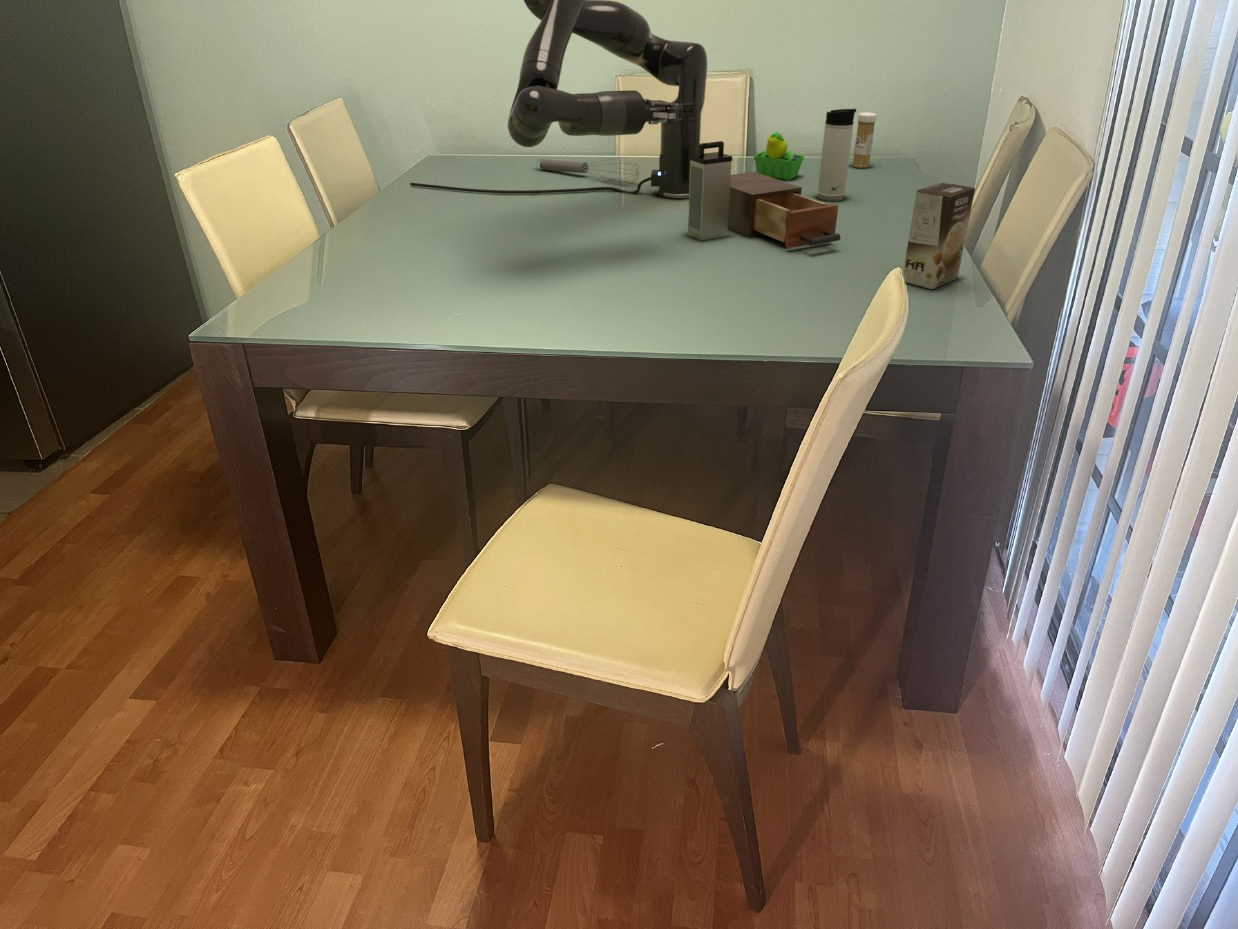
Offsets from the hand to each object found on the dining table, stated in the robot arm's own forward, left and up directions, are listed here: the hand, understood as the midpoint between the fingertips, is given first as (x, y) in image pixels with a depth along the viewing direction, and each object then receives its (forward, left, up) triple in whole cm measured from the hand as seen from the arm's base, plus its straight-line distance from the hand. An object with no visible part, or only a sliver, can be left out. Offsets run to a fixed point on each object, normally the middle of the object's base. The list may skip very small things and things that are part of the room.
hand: (693, 109), depth 170 cm
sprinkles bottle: (+43, +72, -25) cm, 88 cm away
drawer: (+21, +1, -24) cm, 32 cm away
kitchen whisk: (-29, +53, -25) cm, 65 cm away
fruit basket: (+20, +58, -25) cm, 66 cm away
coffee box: (+44, -21, -25) cm, 55 cm away
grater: (+4, +3, -25) cm, 25 cm away
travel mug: (+32, +37, -25) cm, 55 cm away
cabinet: (+13, +13, -25) cm, 31 cm away
